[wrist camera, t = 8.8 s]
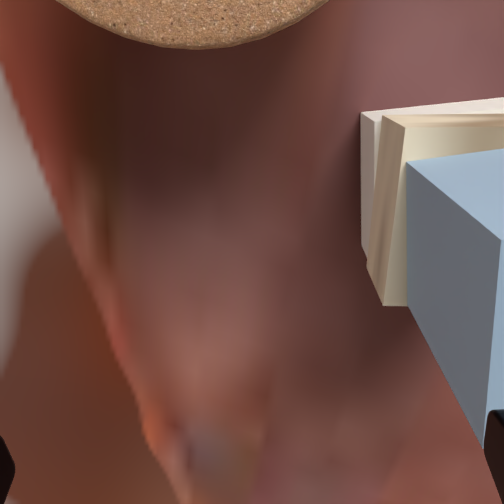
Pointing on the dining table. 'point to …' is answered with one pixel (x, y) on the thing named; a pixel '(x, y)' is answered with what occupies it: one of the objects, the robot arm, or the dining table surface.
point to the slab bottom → (372, 137)
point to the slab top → (394, 183)
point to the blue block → (460, 273)
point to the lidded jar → (193, 19)
